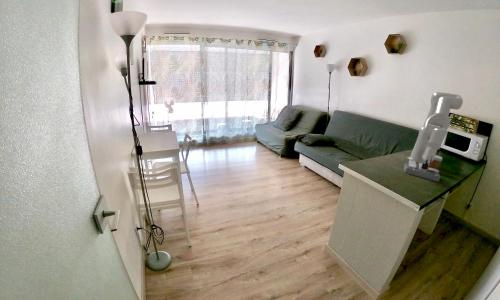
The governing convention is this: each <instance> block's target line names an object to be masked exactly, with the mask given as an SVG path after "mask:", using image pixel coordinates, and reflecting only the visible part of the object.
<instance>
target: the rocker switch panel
mask: <svg viewBox="0 0 500 300" xmlns="http://www.w3.org/2000/svg"><path fill="white" fill-rule="evenodd" d="M403 171H404V173H406V174H408V175H412V176H416V177H420V178H423V179H426V180H430V181H434V182H440V180H441V177H442V176H440V173H439V172H435V171H431V170H429V169H427V171H426V172H425V171H422V170H420V169H419V165H416V169H414V168H410V167H409V163H407V162H405V163H404V166H403Z"/></svg>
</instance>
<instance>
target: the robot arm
mask: <svg viewBox="0 0 500 300" xmlns="http://www.w3.org/2000/svg"><path fill="white" fill-rule="evenodd" d="M463 103H464V100H463V98H462V96H461V95H460V94H456V93H447V92H440V91H438V92H437V91H436V92H434V93H432V96H431V98H430V109H429V111H428V113H427V116H426V119H425V121H424V122H423V125H422V126H421V127H420V128H419V131H418V136H417V137H416V141H415V144H414V147H413V149H412V150H411V151H412V152H411V154H410V155H409V156H407V159H408V161H409V160H411V161H415V162H416V164H417V163H418V164H419V163H423V164H422V167H421V168H422V169H425V170H427V167H428V165H429V163H430V162H432V161H433V159H434V157H435V155H437V151H438V150H440V149H441V146H442V144H443V142H444V140H445V137H446V136H447V134H448V129H449V127H450V124H451V122H452V119H451V116H449V115H450V111H451V110H457V111H458V110H460V109H461V107H462V106H463Z"/></svg>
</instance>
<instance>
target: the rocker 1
mask: <svg viewBox="0 0 500 300" xmlns="http://www.w3.org/2000/svg"><path fill="white" fill-rule="evenodd" d="M408 164H409V167H410V168H414V169H416V166H417V162H415V161H411V160H409V159H408Z"/></svg>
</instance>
